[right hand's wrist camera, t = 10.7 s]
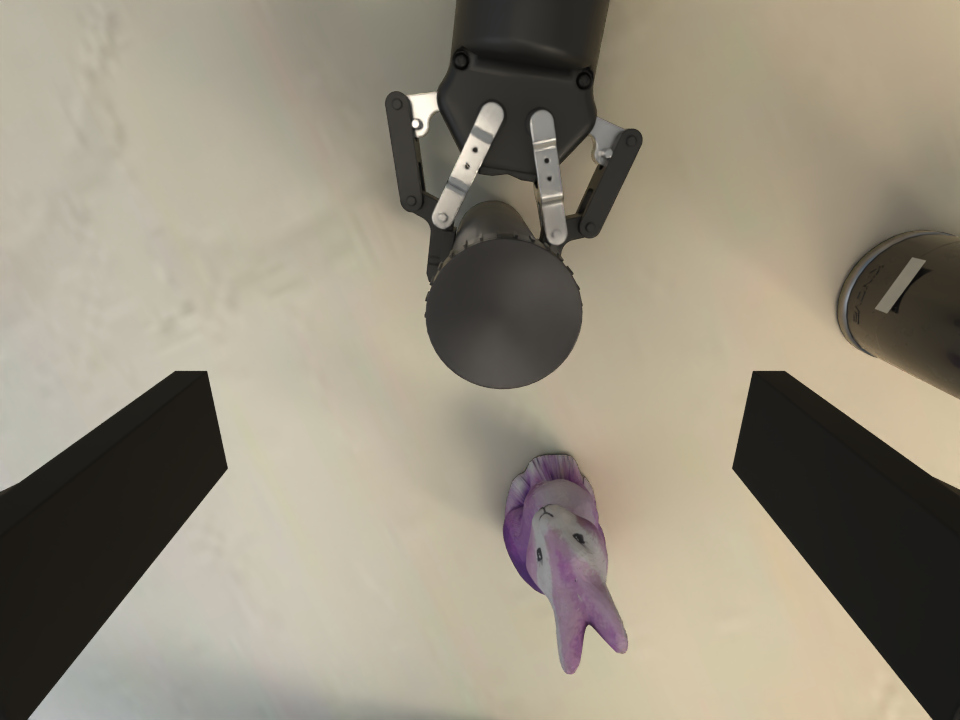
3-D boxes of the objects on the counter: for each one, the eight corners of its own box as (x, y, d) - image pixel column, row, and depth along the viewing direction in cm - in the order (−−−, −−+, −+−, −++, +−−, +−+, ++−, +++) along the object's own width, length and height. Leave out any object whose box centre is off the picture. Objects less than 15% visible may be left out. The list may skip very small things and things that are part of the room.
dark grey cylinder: (513, 190, 35) (547, 226, 17) (534, 257, 37) (586, 352, 19) (447, 215, 36) (415, 274, 18) (471, 279, 38) (464, 392, 20)
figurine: (542, 426, 42) (574, 562, 28) (627, 497, 44) (695, 654, 30) (465, 498, 44) (458, 656, 30) (549, 561, 47) (578, 733, 33)
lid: (551, 206, 18) (558, 211, 17) (594, 348, 20) (603, 363, 19) (404, 260, 19) (398, 269, 18) (459, 392, 21) (457, 410, 20)
